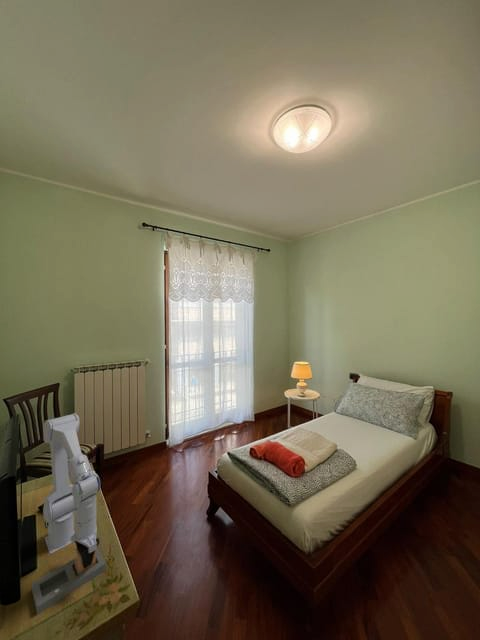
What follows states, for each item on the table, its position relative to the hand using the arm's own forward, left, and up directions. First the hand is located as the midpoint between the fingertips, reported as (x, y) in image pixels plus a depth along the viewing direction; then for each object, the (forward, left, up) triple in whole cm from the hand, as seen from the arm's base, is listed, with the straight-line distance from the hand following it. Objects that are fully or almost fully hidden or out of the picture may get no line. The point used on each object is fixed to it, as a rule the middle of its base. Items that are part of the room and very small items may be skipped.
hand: (85, 560), depth 79 cm
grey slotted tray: (0, -4, -3) cm, 5 cm away
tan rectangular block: (0, 0, -3) cm, 3 cm away
